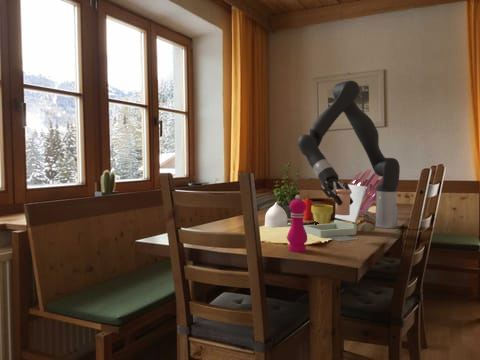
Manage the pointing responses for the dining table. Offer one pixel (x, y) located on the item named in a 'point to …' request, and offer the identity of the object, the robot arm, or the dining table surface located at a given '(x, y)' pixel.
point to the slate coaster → (342, 238)
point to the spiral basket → (367, 189)
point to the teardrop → (276, 217)
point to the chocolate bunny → (368, 222)
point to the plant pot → (322, 213)
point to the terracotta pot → (345, 206)
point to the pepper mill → (297, 226)
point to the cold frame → (340, 226)
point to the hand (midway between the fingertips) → (346, 203)
